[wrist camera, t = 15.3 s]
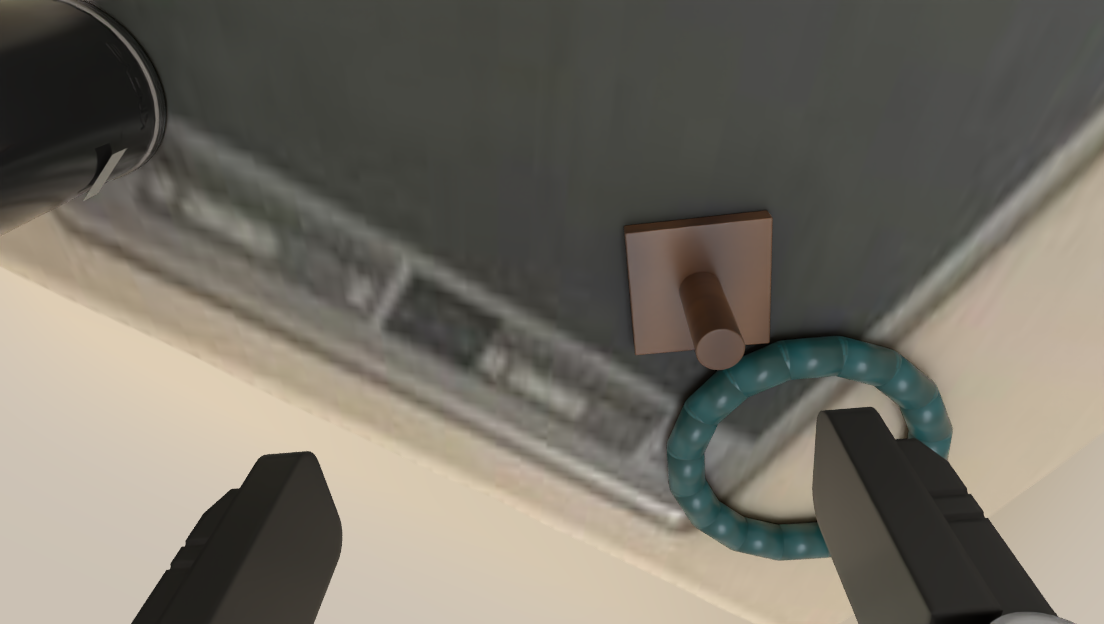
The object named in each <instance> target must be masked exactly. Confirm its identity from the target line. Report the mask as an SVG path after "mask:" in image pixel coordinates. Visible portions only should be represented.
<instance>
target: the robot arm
mask: <svg viewBox="0 0 1104 624" xmlns="http://www.w3.org/2000/svg"><path fill="white" fill-rule="evenodd" d="M165 123H166V108H165V100H164V95H163V91H162V87H161V84H160V81H159V79H158V76H157V74H156V72H155V69H154V68H153V66H152V64H151V62H150V60H149V59H148V57H147V55H146V54H145V52H144V51H143V50H142V48H141V47H140V45H139V44H138V43H137V42H136V41H135V39H134V38H133V37H132V36H131V35H130V34H129V33H128V32H127V31H126V30H125V29H124V28H123V27H122V26H121V25H120V24H119V23H118V22H116V21H115V20H114V19H113V18H111V17H110V16H109V15H107V14H106V13H104V12H103V11H101V10H99V9H98V8H96V7H94V6H92V5H91V4H89V3H86V2H84V1H82V0H0V236H2V235H4V234H6V233H8V232H10V231H12V230H13V229H15V228H17V227H19V226H21V225H23V224H25V223H27V222H29V221H31V220H33V219H35V218H37V217H39V216H41V215H43V214H45V213H47V212H49V211H51V210H53V209H55V208H57V207H59V206H61V205H63V204H65V203H67V202H69V201H71V200H73V199H75V198H77V197H78V196H80V195H82V194H84V193H86V192H89V193H88V194H87V196H86V197H85V199H84V200H83V201H85V200H87V199H88V198H90V197H92V196H94V195H96V194H98V192H99V191H100V189H101V188H102V186H103V185H104V184H105V183H107V182H109V181H111V180H113V179H117V178H120V177H122V176H125V175H127V174H129V173H131V172H133V171H134V170H136V169H138V168H140V167H141V166H142V165H144V164H145V163H146V162H147V161H148V160H149V159H150V158H151V157H152V156H153V155H154V153H155V152H156V150H157V149H158V147H159V145H160V143H161V140H162V137H163V134H164V129H165ZM812 490H813V502H814V509H815V514H816V518H817V522H818V525H819V528H820V530H821V533H822V535H823V538H824V540H825V543H826V545H827V548H828V550H829V552H830V555H831V557H832V560H833V562H834V565H835V567H836V570H837V572H838V575H839V577H840V579H841V582H842V584H843V587H844V589H845V592H846V594H847V597H848V599H849V602H850V604H851V606H852V609H853V611H854V614H855V616H856V619H857V621H858V624H1075V623H1073V622H1071V621H1068V620H1065V619H1063V618H1060V617H1058V616H1057V614H1056V613H1055V612H1054V611H1053V609H1052V608H1051V607H1050V606H1049V604H1048V602H1047V601H1046V600H1045V598H1044V597H1043V595H1042V594H1041V593H1040V591H1039V590H1038V588H1037V587H1036V586H1035V584H1034V583H1033V581H1032V580H1031V578H1030V577H1029V576H1028V574H1027V573H1026V571H1025V570H1024V568H1023V567H1022V566H1021V564H1020V563H1019V561H1018V560H1017V559H1016V557H1015V556H1014V554H1013V553H1012V552H1011V550H1010V549H1009V547H1008V546H1007V544H1006V543H1005V542H1004V540H1003V539H1002V538H1001V536H1000V534H999V533H998V532H997V530H996V529H995V527H994V526H993V525H992V523H991V522H990V520H989V519H988V518H985V517H984V514H983V510H982V509H981V508H980V506H979V505H978V503H977V502H976V501H975V499H974V498H973V496H972V495H971V494H968V493H967V488H966V486H965V485H964V484H963V482H962V481H961V479H960V478H959V476H958V475H957V474H956V472H955V471H954V469H953V468H952V467H951V465H950V464H949V462H948V461H947V460H946V459H944V458H943V457H942V456H940V455H939V454H937V453H936V452H935V451H933V450H932V449H930V448H929V447H928V446H926V445H925V444H923V443H922V442H921V441H919V440H918V439H916V438H909V439H896V440H895V438H894V437H893V435H892V434H891V432H890V431H889V429H888V427H887V426H886V424H885V423H884V421H883V419H882V418H881V416H880V415H879V413H878V412H877V410H875V409H874V408H873V407H862V408H850V409H837V410H825V411H820V412H819V414H818V417H817V424H816V439H815V454H814V470H813V486H812ZM341 547H342V526H341V521H340V518H339V515H338V512H337V509H336V507H335V504H334V502H333V499H332V496H331V494H330V491H329V488H328V486H327V483H326V480H325V478H324V475H323V472H322V470H321V467H320V464H319V462H318V460H317V458H316V456H315V455H314V454H313V453H311V452H309V451H306V452H292V453H280V454H268V455H263V456H261V457H260V458H259V459H258V460H257V462H256V463H255V465H254V466H253V468H252V470H251V471H250V473H249V474H248V476H247V477H246V479H245V481H244V482H243V484H242V486H241V487H240V488H239V489H231V490H230V491H228V492H227V493H226V494H225V495H224V496H223V497H222V498H221V499H220V500H218V501H217V502H216V503H215V504H214V505H213V506H212V507H210V508H209V509H208V510H207V511H206V512H205V513H204V514H203V515H202V517H201V518H200V520H199V521H198V523H197V524H196V526H195V527H194V529H193V530H192V532H191V533H190V535H189V536H188V538H187V540H186V545H185V547H181V549H180V550H179V552H178V553H177V555H176V556H175V558H174V559H173V561H172V562H171V568H170V570H166V572H165V573H164V574H163V576H162V578H161V579H160V581H159V582H158V584H157V585H156V587H155V588H154V590H153V591H152V593H151V594H150V596H149V597H148V599H147V600H146V602H145V603H144V605H143V607H142V608H141V610H140V611H139V613H138V614H137V616H136V617H135V619H134V620H133V622H132V623H131V624H314V621H315V619H316V616H317V614H318V611H319V609H320V606H321V603H322V601H323V598H324V596H325V593H326V591H327V588H328V585H329V583H330V580H331V578H332V575H333V573H334V570H335V567H336V565H337V562H338V560H339V557H340V553H341Z"/></svg>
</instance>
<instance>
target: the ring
mask: <svg viewBox="0 0 1104 624" xmlns="http://www.w3.org/2000/svg"><path fill="white" fill-rule="evenodd" d="M829 376H838V377H842V378H846V379H850V380H854V381H858V382H861V383H865V384H869V385H873V386H875V387H876V388H877V389H879V390H880V391H881V392H883V393H884V394H885V395H886V396H888V397H889V398H890V399H892V400H893V401H894V402H895V403H897V404H898V405H899V407H900V410H901V412H902V415H903V417H904V419H905V422H906V424H907V427H908V429H909V431H908V438H907V439H909V438H916V439H918V440H919V441H921V442H922V443H923V444H925V445H926V446H928V447H929V448H930V449H932V450H933V451H935V452H936V453H937V454H939V455H940V456H942V457H943V458H944V459H946V460H948V454H949V449H950V443H951V438H952V430H953V429H952V425H951V422H950V419H949V417H948V414H947V411H946V409H945V406H944V403H943V401H942V398H941V395H940V393H939V390H938V388H937V386H936V384H935V383H934V382H933V381H932V380H931V379H930V378H929V377H927V376H926V375H925V374H924V373H922V372H921V371H920V370H919V369H917V368H916V367H915V366H914V365H913V364H911V363H910V362H909V361H908V360H906V359H905V358H904V357H903V356H901V355H900V354H899V353H898V352H896V351H894V350H892V349H889V348H885V347H882V346H878V345H874V344H870V343H866V342H862V341H859V340H855V339H851V338H847V337H843V336H825V337H814V338H803V339H792V340H782V341H777V342H775V343H772V344H770V345H768V346H765V347H763V348H761V349H758V350H756V351H754V352H752V353H749V354H747V355H745V356H743V357H742V358H741V360H740V361H739V362H738V363H737V364H736V365H734V366H732V367H730V368H728V369H724V370H718V371H717V372H716V373H715V374H714V375H713V376H712V377H710V378H709V379H708V380H707V381H706V382H705V383H704V384H703V385H702V386H701V387H700V388H699V389H697V390H696V391H695V392H694V393H693V394H692V395H691V396H690V397H689V398H688V399H687V400H686V402H685V404H684V406H683V408H682V410H681V412H680V415H679V417H678V419H677V421H676V424H675V426H674V428H673V430H672V433H671V435H670V437H669V439H668V442H667V461H668V476H669V487H670V490H671V492H672V494H673V495H674V497H675V498H676V500H677V501H678V503H679V504H680V506H681V508H682V509H683V511H684V512H685V514H686V515H687V517H688V518H689V520H690V522H691V523H692V524H693V525H694V526H695V527H696V528H698V529H699V530H701V531H702V532H704V533H705V534H707V535H709V536H710V537H712V538H713V539H715V540H717V541H718V542H720V543H721V544H723V545H724V546H726V547H728V548H729V549H731V550H733V551H738V552H742V553H746V554H751V555H755V556H760V557H764V558H769V559H773V560H779V561H781V560H798V559H814V558H827V557H831V555H830V552H829V550H828V548H827V545H826V543H825V540H824V538H823V535H822V533H821V530H820V528H819V525H818V522H811V523H796V524H781V525H777V524H772V523H768V522H764V521H759V520H755V519H751V518H746V517H743V516H741V515H740V514H738V513H737V512H735V511H734V510H732V509H731V508H729V507H728V506H726V505H724V504H723V503H721V502H720V501H718V499H717V498H716V496H715V494H714V493H713V491H712V489H711V488H710V486H709V484H708V483H707V481H706V480H705V463H704V452H705V450H706V448H707V446H708V444H709V442H710V440H711V438H712V436H713V433H714V431H715V429H716V427H717V425H718V423H720V422H721V421H722V420H723V419H724V418H725V417H726V416H728V415H729V414H730V413H731V412H732V411H733V410H734V409H736V408H737V407H738V406H739V405H740V404H741V403H742V402H743V401H745V400H746V399H747V398H748V397H750V396H753V395H755V394H757V393H760V392H762V391H765V390H767V389H769V388H772V387H774V386H777V385H779V384H781V383H784V382H786V381H789V380H794V379H805V378H817V377H829Z"/></svg>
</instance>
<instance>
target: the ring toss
mask: <svg viewBox="0 0 1104 624" xmlns="http://www.w3.org/2000/svg"><path fill="white" fill-rule="evenodd" d="M624 236H625V247H626V259H627V270H628V282H629V294H630V305H631V317H632V328H633V340H634V349H635V355H643V354H654V353H665V352H676V351H687V350H695V353H696V356H697V359H698V360H699V362H700V363H701V364H702V365H704V366H705V367H707V368H709V369H713V370H724V369H728V368H730V367H732V366H734V365H736V364H737V363H738V362H739V361H740V360H741V358H742V357H743V355H744V352H745V345H753V344H764V343H769V342H770V304H771V261H772V217H771V215H770V214H769V212H768V211H767V210H765V211H756V212H747V213H738V214H729V215H719V216H710V217H701V218H692V219H683V220H674V221H664V222H655V223H646V224H637V225H628V226H624Z"/></svg>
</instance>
